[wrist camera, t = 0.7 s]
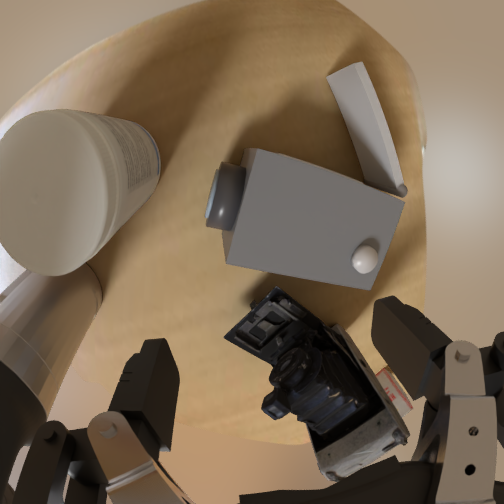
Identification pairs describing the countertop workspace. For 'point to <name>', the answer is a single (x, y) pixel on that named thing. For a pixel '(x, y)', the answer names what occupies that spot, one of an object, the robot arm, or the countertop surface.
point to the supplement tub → (71, 185)
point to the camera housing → (301, 219)
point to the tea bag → (394, 392)
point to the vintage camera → (321, 384)
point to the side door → (368, 128)
